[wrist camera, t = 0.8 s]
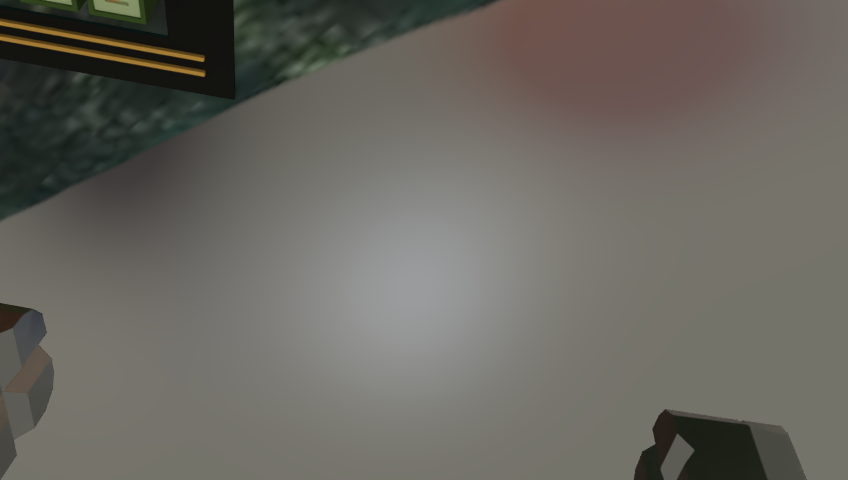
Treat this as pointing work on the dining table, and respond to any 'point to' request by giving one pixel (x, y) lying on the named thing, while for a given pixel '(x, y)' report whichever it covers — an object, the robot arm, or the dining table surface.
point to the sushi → (130, 42)
